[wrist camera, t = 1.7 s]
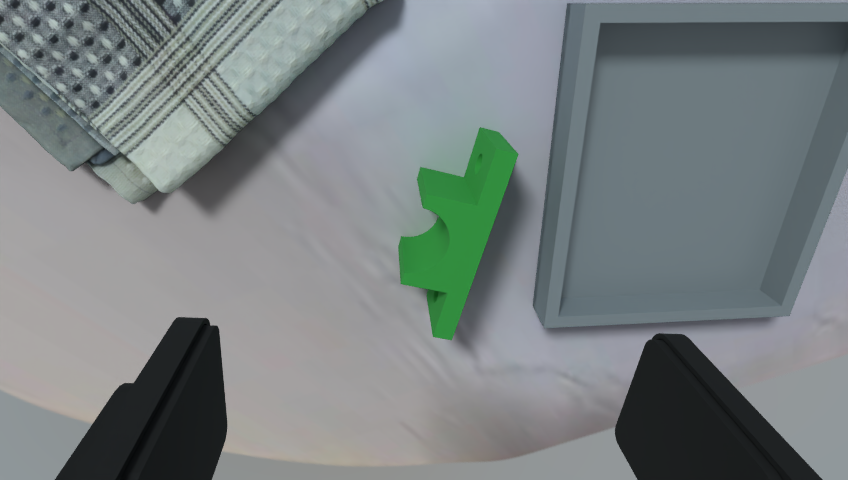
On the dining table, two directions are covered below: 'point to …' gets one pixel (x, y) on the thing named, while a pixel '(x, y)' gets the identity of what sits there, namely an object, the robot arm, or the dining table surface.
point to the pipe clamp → (456, 229)
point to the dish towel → (154, 77)
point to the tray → (691, 160)
